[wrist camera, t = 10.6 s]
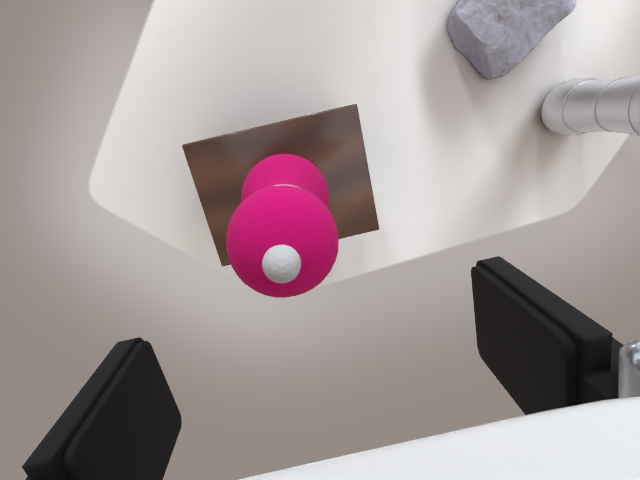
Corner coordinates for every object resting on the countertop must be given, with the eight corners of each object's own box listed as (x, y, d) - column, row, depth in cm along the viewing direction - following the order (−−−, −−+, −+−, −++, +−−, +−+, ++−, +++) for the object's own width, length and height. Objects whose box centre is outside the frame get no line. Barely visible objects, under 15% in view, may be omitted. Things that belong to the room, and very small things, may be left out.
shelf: (209, 138, 45) (181, 145, 33) (339, 107, 45) (356, 103, 33) (238, 231, 49) (222, 266, 37) (358, 203, 49) (379, 229, 37)
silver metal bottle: (531, 88, 46) (701, 66, 27) (585, 73, 46) (793, 41, 27) (535, 140, 48) (695, 155, 29) (586, 126, 48) (781, 131, 29)
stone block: (431, 29, 45) (488, 89, 45) (442, 10, 40) (506, 78, 41) (507, -53, 43) (566, 12, 44) (528, -82, 38) (594, -10, 39)
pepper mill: (270, 238, 37) (248, 367, 18) (232, 171, 34) (162, 236, 15) (336, 205, 36) (388, 302, 17) (303, 135, 34) (320, 158, 15)
